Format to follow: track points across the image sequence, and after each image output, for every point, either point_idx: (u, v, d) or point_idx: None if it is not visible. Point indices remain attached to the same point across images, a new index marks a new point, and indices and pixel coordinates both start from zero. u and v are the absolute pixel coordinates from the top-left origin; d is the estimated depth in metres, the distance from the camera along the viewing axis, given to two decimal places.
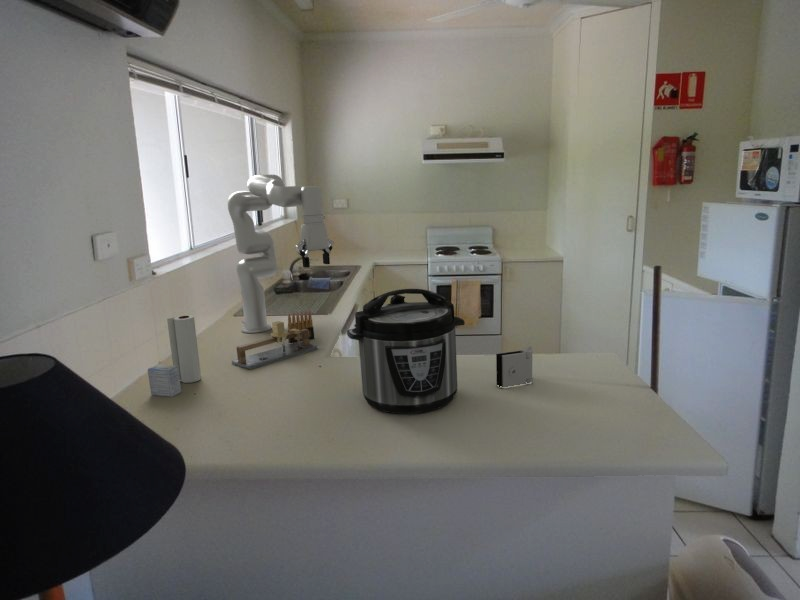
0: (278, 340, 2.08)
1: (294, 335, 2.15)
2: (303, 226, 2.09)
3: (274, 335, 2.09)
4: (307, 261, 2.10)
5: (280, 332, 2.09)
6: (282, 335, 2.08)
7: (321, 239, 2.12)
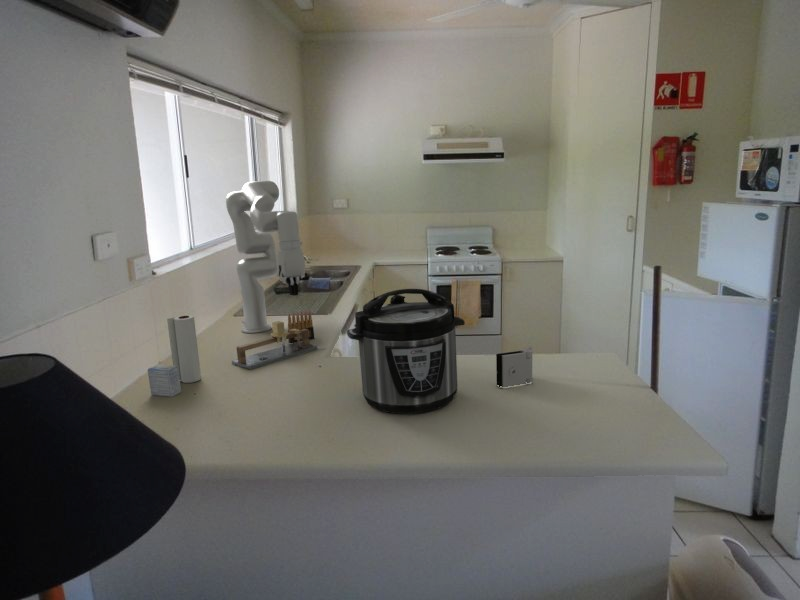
0: (278, 340, 2.08)
1: (294, 335, 2.15)
2: (279, 252, 2.07)
3: (274, 335, 2.09)
4: (293, 289, 2.11)
5: (280, 332, 2.09)
6: (282, 335, 2.08)
7: (297, 264, 2.10)
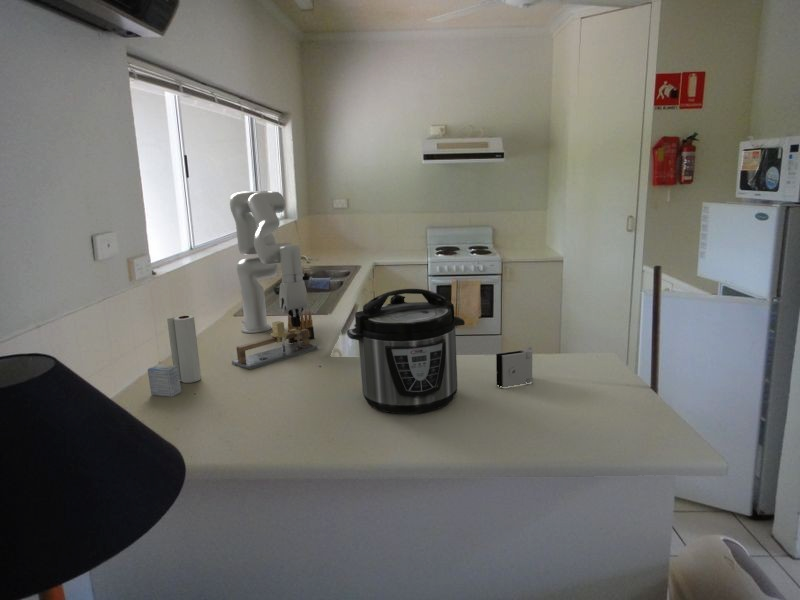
0: (278, 340, 2.08)
1: (294, 335, 2.15)
2: (282, 285, 2.09)
3: (274, 335, 2.09)
4: (296, 321, 2.14)
5: (280, 332, 2.09)
6: (282, 335, 2.08)
7: (300, 297, 2.13)
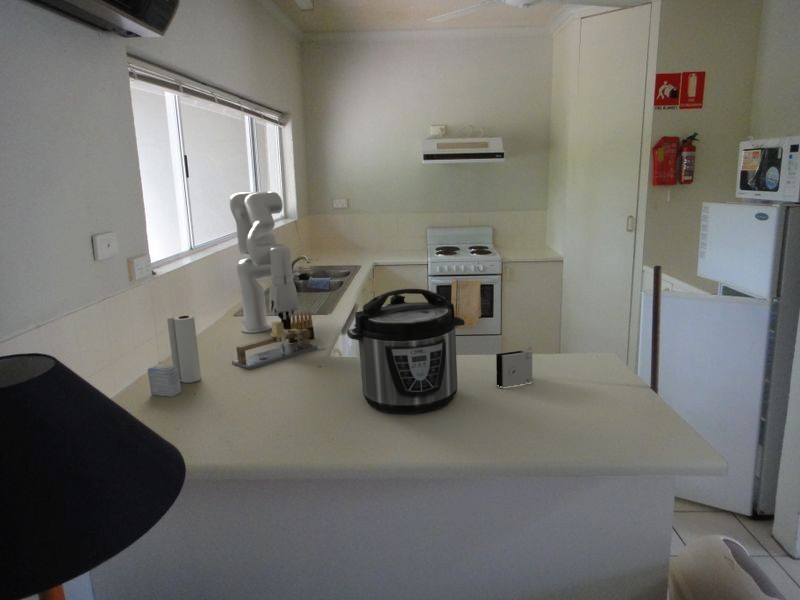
0: (277, 340, 2.08)
1: (294, 335, 2.15)
2: (272, 287, 2.06)
3: (273, 335, 2.09)
4: (286, 323, 2.11)
5: (280, 333, 2.09)
6: (281, 335, 2.08)
7: (290, 299, 2.09)
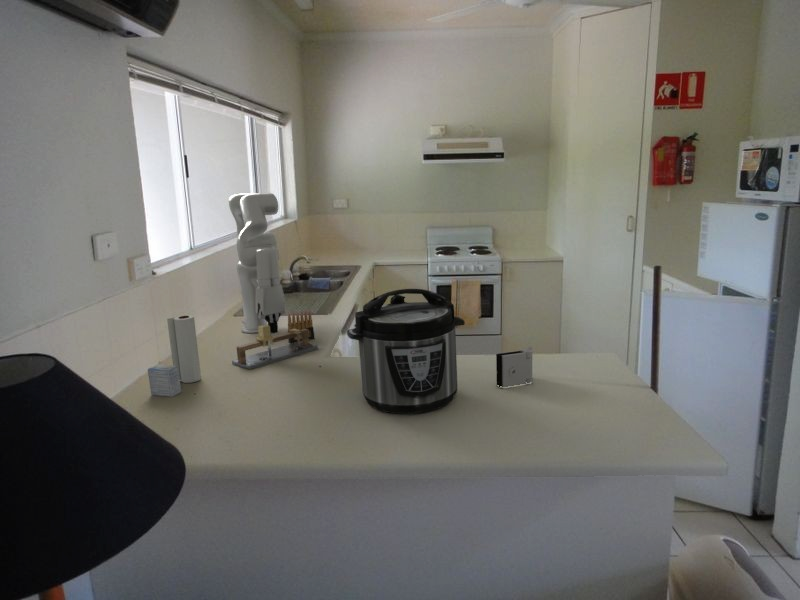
0: (264, 344, 2.04)
1: (294, 335, 2.15)
2: (258, 290, 2.02)
3: (260, 339, 2.04)
4: (273, 326, 2.06)
5: (266, 336, 2.05)
6: (268, 339, 2.04)
7: (277, 302, 2.05)
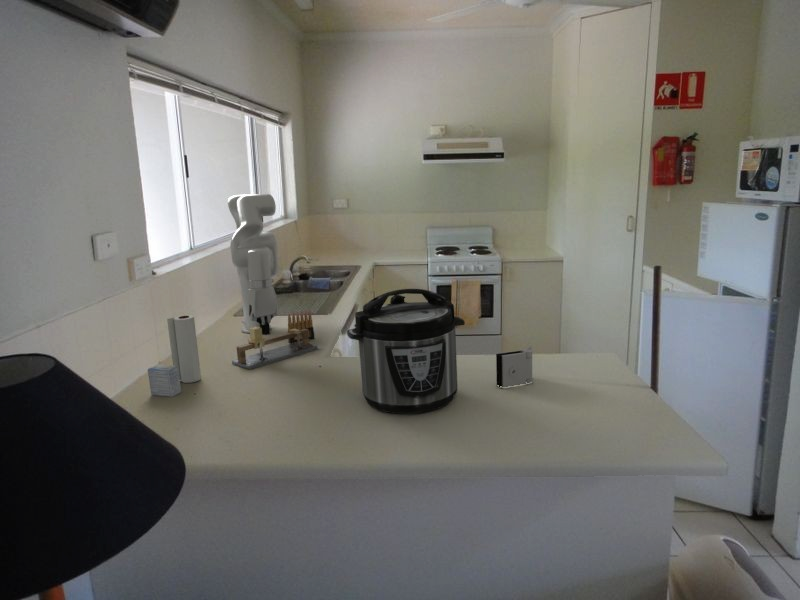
0: (255, 346, 2.01)
1: (294, 335, 2.15)
2: (249, 291, 2.00)
3: (251, 341, 2.02)
4: (265, 328, 2.04)
5: (258, 338, 2.02)
6: (260, 341, 2.02)
7: (269, 303, 2.03)
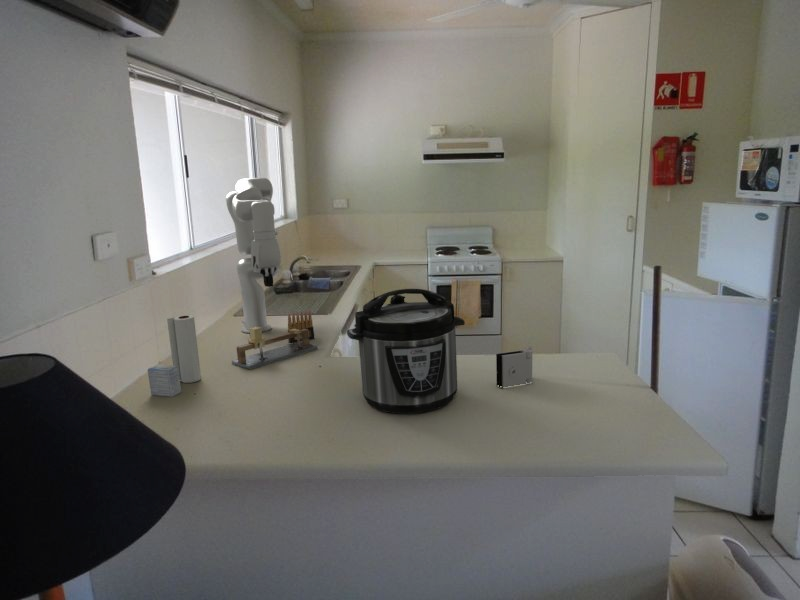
0: (255, 346, 2.01)
1: (294, 335, 2.15)
2: (253, 243, 2.03)
3: (251, 341, 2.02)
4: (268, 280, 2.08)
5: (258, 338, 2.02)
6: (260, 341, 2.02)
7: (272, 255, 2.06)
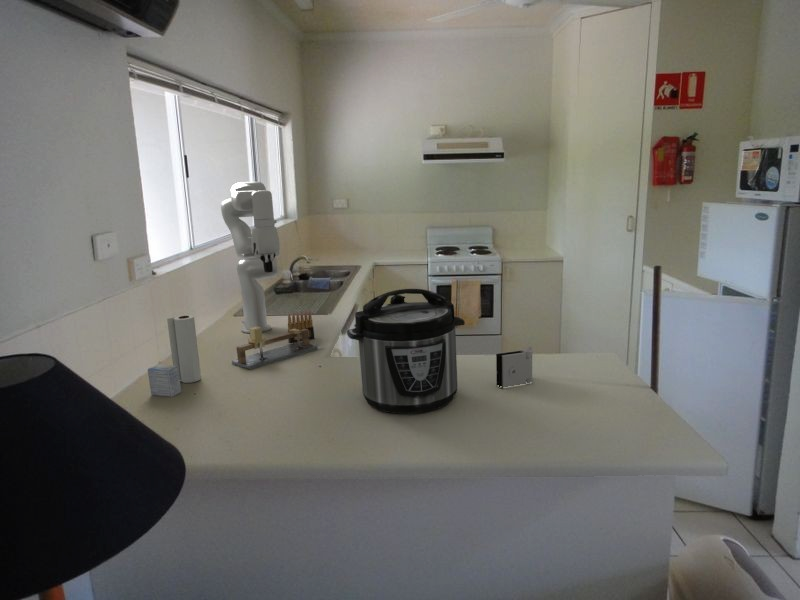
0: (255, 346, 2.01)
1: (294, 335, 2.15)
2: (254, 230, 2.14)
3: (251, 341, 2.02)
4: (268, 266, 2.18)
5: (258, 338, 2.02)
6: (260, 341, 2.02)
7: (271, 242, 2.17)
